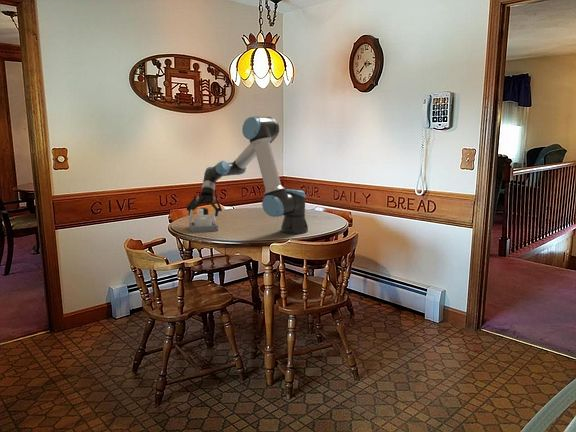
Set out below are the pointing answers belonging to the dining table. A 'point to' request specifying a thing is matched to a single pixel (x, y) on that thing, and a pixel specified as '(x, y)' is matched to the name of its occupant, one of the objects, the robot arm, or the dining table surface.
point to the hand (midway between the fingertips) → (201, 220)
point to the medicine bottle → (202, 218)
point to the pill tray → (203, 228)
